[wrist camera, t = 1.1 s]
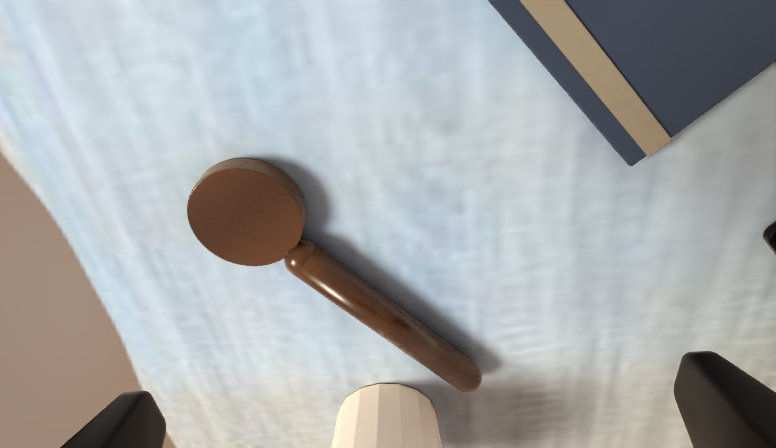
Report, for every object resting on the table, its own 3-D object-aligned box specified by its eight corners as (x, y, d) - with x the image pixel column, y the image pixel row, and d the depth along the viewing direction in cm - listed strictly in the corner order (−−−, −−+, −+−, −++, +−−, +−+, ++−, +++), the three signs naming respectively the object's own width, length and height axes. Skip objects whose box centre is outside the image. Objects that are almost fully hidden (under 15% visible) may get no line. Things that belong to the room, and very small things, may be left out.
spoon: (508, 349, 26) (515, 373, 25) (441, 392, 28) (444, 417, 27) (237, 134, 20) (226, 151, 18) (173, 209, 22) (158, 229, 20)
